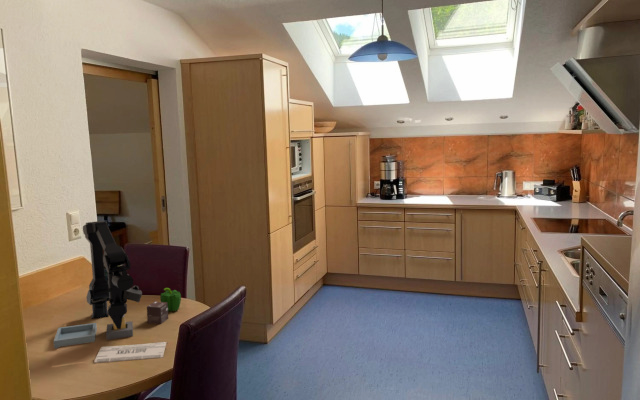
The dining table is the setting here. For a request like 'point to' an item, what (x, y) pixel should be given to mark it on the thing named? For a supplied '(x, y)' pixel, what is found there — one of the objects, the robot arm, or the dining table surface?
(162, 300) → the bell pepper
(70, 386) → the dining table surface
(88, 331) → the parts tray
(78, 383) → the dining table surface
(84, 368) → the dining table surface
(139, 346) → the newspaper
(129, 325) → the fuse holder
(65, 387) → the dining table surface
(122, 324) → the block
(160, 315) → the box
